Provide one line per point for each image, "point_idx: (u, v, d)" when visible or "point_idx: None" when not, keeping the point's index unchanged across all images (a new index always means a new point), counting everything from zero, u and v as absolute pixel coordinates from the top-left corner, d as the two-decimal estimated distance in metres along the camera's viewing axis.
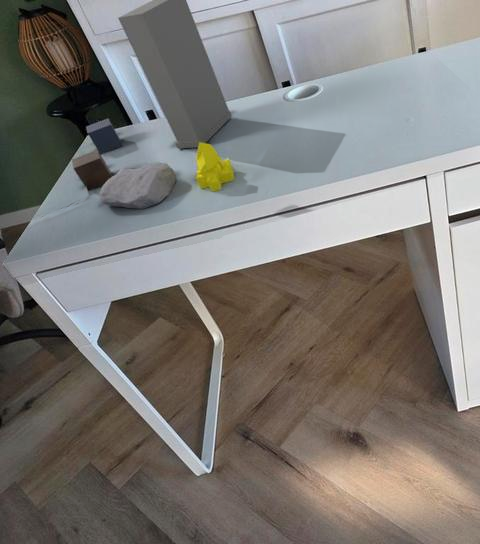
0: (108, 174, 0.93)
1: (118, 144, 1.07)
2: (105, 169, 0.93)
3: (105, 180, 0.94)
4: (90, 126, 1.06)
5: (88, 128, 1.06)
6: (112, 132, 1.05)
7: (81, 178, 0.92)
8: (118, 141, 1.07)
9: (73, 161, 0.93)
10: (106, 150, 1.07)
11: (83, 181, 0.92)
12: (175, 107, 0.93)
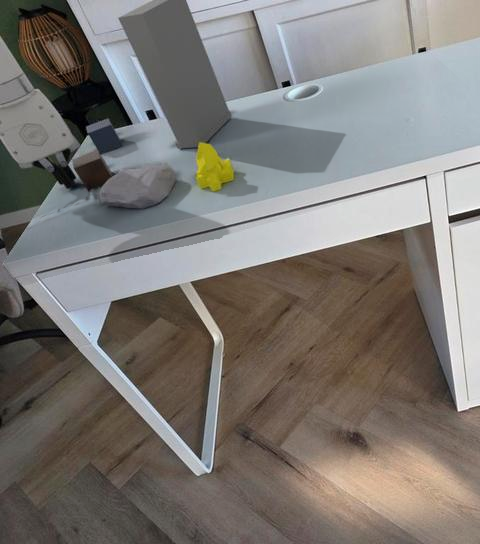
0: (108, 174, 0.93)
1: (118, 144, 1.07)
2: (105, 169, 0.93)
3: (105, 180, 0.94)
4: (90, 126, 1.06)
5: (88, 128, 1.06)
6: (112, 132, 1.05)
7: (81, 178, 0.92)
8: (118, 141, 1.07)
9: (73, 161, 0.93)
10: (106, 150, 1.07)
11: (83, 181, 0.92)
12: (175, 107, 0.93)
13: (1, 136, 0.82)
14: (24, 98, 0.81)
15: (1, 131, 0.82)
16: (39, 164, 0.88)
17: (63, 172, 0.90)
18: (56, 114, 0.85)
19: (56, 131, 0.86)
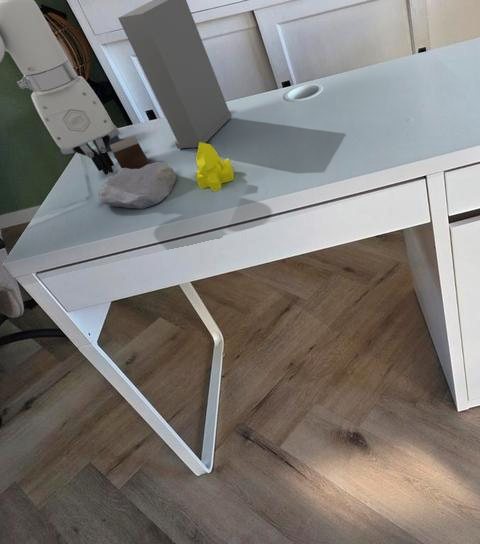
0: (145, 159, 0.95)
1: None
2: (143, 154, 0.95)
3: (142, 165, 0.96)
4: None
5: None
6: None
7: (120, 163, 0.93)
8: (118, 141, 1.07)
9: (111, 146, 0.94)
10: (106, 150, 1.07)
11: (121, 166, 0.94)
12: (175, 107, 0.93)
13: (46, 121, 0.84)
14: (69, 84, 0.83)
15: (46, 117, 0.84)
16: (80, 150, 0.91)
17: (102, 158, 0.92)
18: (98, 101, 0.87)
19: (98, 117, 0.88)
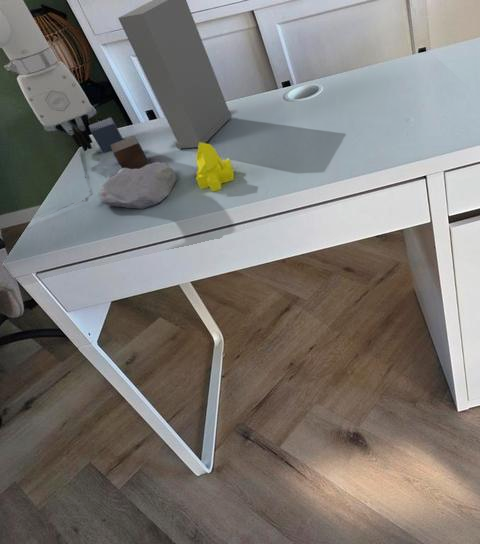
0: (146, 159, 0.95)
1: None
2: (143, 154, 0.95)
3: (142, 165, 0.96)
4: (93, 125, 1.06)
5: (91, 127, 1.06)
6: (115, 131, 1.06)
7: (120, 163, 0.93)
8: None
9: (112, 146, 0.94)
10: (109, 149, 1.07)
11: (122, 166, 0.94)
12: (175, 107, 0.93)
13: (30, 101, 0.96)
14: (50, 68, 0.94)
15: (30, 97, 0.95)
16: (61, 128, 1.02)
17: (81, 135, 1.04)
18: (77, 83, 0.99)
19: (77, 98, 0.99)
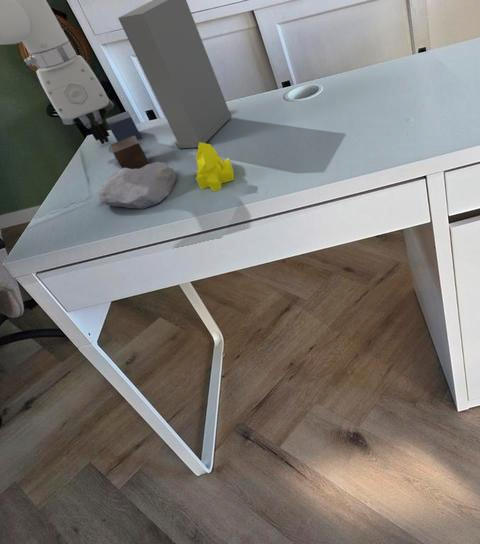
0: (146, 159, 0.95)
1: (138, 137, 1.09)
2: (143, 154, 0.95)
3: (142, 165, 0.96)
4: (110, 118, 1.07)
5: (108, 120, 1.07)
6: (132, 124, 1.07)
7: (120, 163, 0.93)
8: (138, 133, 1.08)
9: (112, 146, 0.94)
10: None
11: (122, 166, 0.94)
12: (175, 107, 0.93)
13: (49, 95, 0.97)
14: (69, 62, 0.95)
15: (49, 90, 0.96)
16: (79, 121, 1.03)
17: (99, 129, 1.05)
18: (95, 77, 1.00)
19: (95, 92, 1.00)
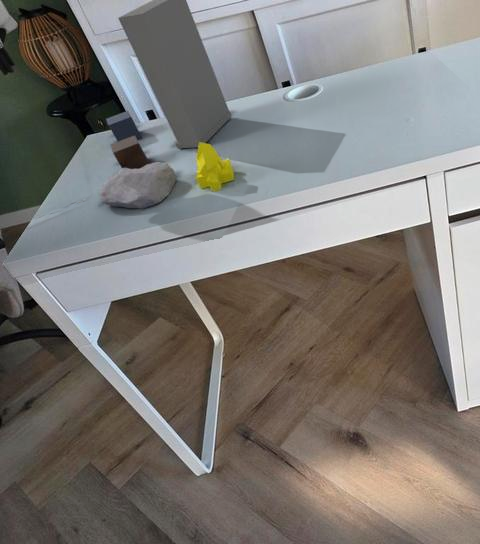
0: (146, 159, 0.95)
1: (138, 137, 1.09)
2: (143, 154, 0.95)
3: (142, 165, 0.96)
4: (110, 118, 1.07)
5: (109, 120, 1.07)
6: (132, 124, 1.07)
7: (120, 163, 0.93)
8: (138, 133, 1.08)
9: (112, 146, 0.94)
10: None
11: (122, 166, 0.94)
12: (175, 107, 0.93)
13: None
14: None
15: None
16: None
17: None
18: None
19: None
